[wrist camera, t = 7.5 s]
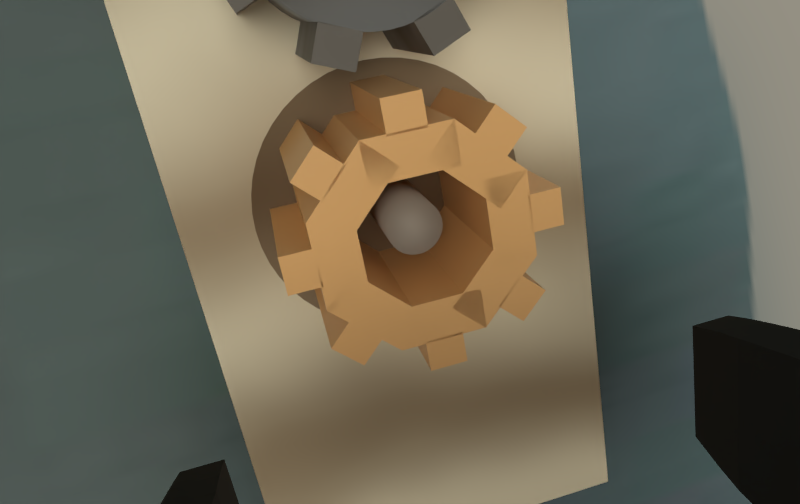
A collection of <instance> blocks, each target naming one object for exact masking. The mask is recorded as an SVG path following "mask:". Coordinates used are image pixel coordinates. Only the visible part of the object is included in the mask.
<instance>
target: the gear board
mask: <svg viewBox="0 0 800 504" xmlns="http://www.w3.org/2000/svg"><path fill="white" fill-rule="evenodd" d="M104 3H105V6H106V9H107V12H108V15H109V18H110V22H111V25H112V28H113V31H114V34H115V37H116V40H117V43H118V46H119V50H120V53H121V56H122V59H123V62H124V65H125V68H126V71H127V75H128V78H129V81H130V84H131V87H132V90H133V93H134V96H135V100H136V103H137V106H138V109H139V112H140V115H141V118H142V121H143V124H144V128H145V131H146V134H147V137H148V140H149V143H150V146H151V149H152V153H153V156H154V159H155V162H156V165H157V168H158V171H159V174H160V178H161V181H162V184H163V187H164V190H165V193H166V196H167V199H168V202H169V206H170V209H171V212H172V215H173V218H174V221H175V224H176V227H177V231H178V234H179V237H180V240H181V243H182V246H183V249H184V252H185V256H186V259H187V262H188V265H189V268H190V271H191V274H192V277H193V280H194V284H195V287H196V290H197V293H198V296H199V299H200V302H201V305H202V309H203V312H204V315H205V318H206V321H207V324H208V327H209V330H210V334H211V337H212V340H213V343H214V346H215V349H216V352H217V355H218V358H219V362H220V365H221V368H222V371H223V374H224V377H225V380H226V383H227V387H228V390H229V393H230V396H231V399H232V402H233V405H234V408H235V412H236V415H237V418H238V421H239V424H240V427H241V430H242V433H243V436H244V440H245V443H246V446H247V449H248V452H249V455H250V458H251V461H252V465H253V468H254V471H255V474H256V477H257V480H258V483H259V486H260V490H261V493H262V496H263V499H264V502H265V504H540V503H543V502H546V501H549V500H552V499H555V498H558V497H561V496H564V495H568V494H571V493H574V492H577V491H580V490H583V489H586V488H589V487H592V486H596V485H599V484H602V483H605V482H608V475H607V463H606V452H605V440H604V429H603V417H602V406H601V394H600V383H599V371H598V359H597V348H596V336H595V325H594V313H593V302H592V290H591V279H590V267H589V256H588V244H587V233H586V221H585V210H584V198H583V187H582V175H581V164H580V152H579V140H578V129H577V117H576V106H575V94H574V83H573V71H572V60H571V48H570V37H569V25H568V14H567V2H566V0H104ZM380 75H386V76H388V77H391V78H394V79H396V80H399V81H402V82H404V83H407V84H410V85H412V86H415V87H418V88H420V89H422V92H423V98H424V104H425V105H426V106H428V107H430V106H431V104H432V103H433V101H434V100H435V98H436V97H437V95H438V94H439V92H440V90H441V89H442V87H445V88H448V89H451V90H454V91H457V92H460V93H463V94H466V95H469V96H473V97H476V98H479V99H482V100H485V101H488V102H491V103H494V104H496V105H498V106H499V107H500V108H502V109H503V110H504V111H506V112H507V113H508V114H510V115H511V116H513V117H514V118H515V119H517V120H518V121H519V122H521V123H522V124H523V125H525V126H526V127H527V128H526V130H525V131H524V132H523V134H522V135H521V137H520V138H519V140H518V141H517V143H516V144H515V146H514V147H513V149H512V150H511V152H510V153H509V154H508V157H510V158H511V159H513V160H514V161H515V162H517V163H518V164H520V165H521V166H522V167H524V168H525V169H527V170H528V171H530V172H532V173H534V174H536V175H538V176H540V177H542V178H544V179H546V180H548V181H550V182H552V183H554V184H556V185H557V186H559V187H561V197H562V207H563V217H564V225H561V226H557V227H553V228H549V229H545V230H541V231H538V232H534V233H535V242H536V250H537V256H536V258H535V259H534V261H533V262H532V263H531V265H530V266H529V268H528V269H527V271H526V272H525V273H527V274H528V275H529V276H530V277H531V278H532V279H533V280H535V281H536V282H537V283H538V284H539V285H540V286H541V287H542V288H544V289H545V290H546V291H545V292H544V293H543V295H542V296H541V298H540V299H539V300H538V302H537V303H536V305H535V306H534V307H533V309H532V310H531V312H530V313H529V314H528V316H527V317H526V319H525V320H524V321H522V320H521V319H519V318H517V317H516V316H514V315H512V314H511V313H509V312H507V311H505V310H504V309H502V308H500V309H499V310H498V311H497V313H496V314H495V316H494V317H493V319H492V320H491V321H490V323H489V324H488V326H487V327H486V328H482V329H478V330H475V331H471V332H468V333H464V334H463V337H464V343H465V349H466V354H467V360H468V361H465V362H461V363H458V364H454V365H451V366H447V367H444V368H440V369H437V370H433V371H431V369H430V368H429V366H428V364H427V362H426V360H425V359H424V357H423V355H422V353H421V351H420V349H419V348H418V346H417V347H413V348H410V349H406V350H403V351H402V350H400V349H398V348H396V347H395V346H393V345H391V344H389V343H387V342H385V341H383V340H382V341H381V342H380V343H379V345H378V346H377V348H376V349H375V351H374V352H373V354H372V355H371V357H370V358H369V360H368V361H367V363H366V364H365V365H362V364H360V363H358V362H356V361H354V360H352V359H350V358H349V357H347V356H345V355H343V354H341V353H339V352H337V351H335V350H333V349H331V346H330V342H329V339H328V335H327V332H326V328H325V325H324V321H323V318H322V314H321V310H320V307H319V303H318V300H317V296H316V293H315V289H313V290H309V291H305V292H302V293H298V294H294V295H290V296H288V294H287V291H286V287H285V283H284V279H283V276H282V272H281V268H280V264H279V261H278V257H277V250H276V244H275V238H274V232H273V226H272V220H271V214H270V209H272V208H277V207H281V206H285V205H289V204H293V203H297V201H296V197H295V193H294V189H293V185H292V184H291V183H290V182H289V179H288V175H287V172H286V169H285V166H284V163H283V159H282V156H281V153H280V150H279V148H280V146H281V145H282V143H283V142H284V140H285V138H286V137H287V135H288V134H289V132H290V130H291V129H292V127H293V125H294V124H295V122H296V121H297V119H299V120H300V121H302V122H303V123H305V124H307V125H308V126H310V127H311V128H313V129H314V130H316V131H318V132H319V133H321V134H322V133H323V132H324V130H325V129H326V127H327V125H328V124H329V122H330V121H331V119H332V117H333V115H338V114H342V113H347V112H351V111H355V106H354V101H353V96H352V91H351V86H350V82H352V81H357V80H362V79H366V78H371V77H376V76H380ZM443 206H444V201H443V195H442V189H441V183H440V177H439V171H437V172H432V173H428V174H424V175H420V176H416V177H411V178H407V179H403V180H399V181H395V182H391V183H388V184H387V185H386V187H385V188H384V190H383V191H382V193H381V195H380V196H379V198H378V199H377V201H376V202H375V204H374V205H373V207H372V208H371V210H370V211H369V213H368V214H367V216H366V217H365V219H364V220H363V222H362V224H361V225H360V227H359V228H358V230H357V234H358V239H359V240H360V241H361V242H363V243H365V244H367V245H368V246H370V247H372V248H373V249H375V250H377V251H383V250H387V249H391V248H396V249H397V250H398V251H400V252H402V253H405V254H409V255H417V254H421V253H424V252H426V251H428V250H429V249H431V248H432V247H433V246H434V245H435V244H436V243H437V241H438V240H439V238H440V236H441V233H442V228H443V223H442V217H441V215H440V213H439V212H440V211H441V209H442V208H443Z"/></svg>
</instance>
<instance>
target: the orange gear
mask: <svg viewBox="0 0 800 504" xmlns="http://www.w3.org/2000/svg"><path fill="white" fill-rule="evenodd" d="M350 86H351V91H352V96H353V101H354V106H355V111H351V112H347V113H342V114H338V115H333V117H332V119H331V121H330V122H329V124H328V125H327V127H326V129H325V130H324V132H323V133H322V134H321V133H319V132H318V131H316V130H314V129H313V128H311V127H310V126H308V125H307V124H305V123H303V122H302V121H300V120H299V119H297V121H296V122H295V124H294V125H293V127H292V129H291V130H290V132H289V134H288V135H287V137H286V138H285V140H284V142H283V143H282V145H281V146H280V148H279V150H280V153H281V156H282V159H283V163H284V166H285V169H286V172H287V175H288V179H289V182H290V183H291V184H292V185H293V189H294V193H295V197H296V201H297V203H293V204H289V205H285V206H281V207H277V208H272V209H270V214H271V220H272V226H273V232H274V238H275V244H276V250H277V257H278V261H279V264H280V268H281V272H282V276H283V279H284V283H285V287H286V291H287V294H288V296H290V295H294V294H298V293H302V292H305V291H309V290H313V289H315V293H316V296H317V300H318V303H319V307H320V310H321V314H322V318H323V321H324V325H325V328H326V332H327V335H328V339H329V342H330V346H331V349H333V350H335V351H337V352H339V353H341V354H343V355H345V356H347V357H349V358H350V359H352V360H354V361H356V362H358V363H360V364H362V365H365V364H366V363H367V361H368V360H369V358H370V357H371V355H372V354H373V352H374V351H375V349H376V348H377V346H378V345H379V343H380V342H381V341H382V340H383V341H385V342H387V343H389V344H391V345H393V346H395V347H396V348H398V349H400V350H402V351H403V350H406V349H410V348H413V347H417V346H418V348H419V349H420V351H421V353H422V355H423V357H424V359H425V360H426V362H427V364H428V366H429V368H430V369H431V371H433V370H437V369H440V368H444V367H447V366H451V365H454V364H458V363H461V362H465V361H468V360H467V354H466V349H465V343H464V337H463V334H464V333H468V332H471V331H475V330H478V329H482V328H486V327H487V326H488V324H489V323H490V321H491V320H492V319H493V317H494V316H495V314H496V313H497V311H498V310H499V309H500V308H502V309H504V310H505V311H507V312H509V313H511V314H512V315H514V316H516V317H517V318H519V319H521V320H522V321H524V320H525V319H526V317H527V316H528V314H529V313H530V312H531V310H532V309H533V307H534V306H535V305H536V303H537V302H538V300H539V299H540V298H541V296H542V295H543V293H544V292H545V291H546V290H545V289H544V288H542V287H541V286H540V285H539V284H538V283H537V282H536V281H535V280H533V279H532V278H531V277H530V276H529V275H528V274H527V273H525V272H526V271H527V269H528V268H529V266H530V265H531V263H532V262H533V261H534V259H535V258H536V256H537V250H536V242H535V233H534V232H538V231H541V230H545V229H549V228H553V227H557V226H561V225H564V217H563V207H562V197H561V187H559V186H557V185H556V184H554V183H552V182H550V181H548V180H546V179H544V178H542V177H540V176H538V175H536V174H534V173H532V172H530V171H528V170H527V169H525V168H524V167H522V166H521V165H520V164H518V163H517V162H515V161H514V160H513V159H511V158H510V157H508V154H509V153H510V152H511V150H512V149H513V147H514V146H515V144H516V143H517V141H518V140H519V138H520V137H521V135H522V134H523V132H524V131H525V130H526V128H527V127H526V126H525V125H523V124H522V123H521V122H519V121H518V120H517V119H515V118H514V117H513V116H511V115H510V114H508V113H507V112H506V111H504V110H503V109H502V108H500V107H499V106H498V105H496V104H494V103H491V102H488V101H485V100H482V99H479V98H476V97H473V96H469V95H466V94H463V93H460V92H457V91H454V90H451V89H448V88H445V87H442V89H441V90H440V92H439V94H438V95H437V97H436V98H435V100H434V101H433V103H432V104H431V106H430V107H428V106H426V105H425V104H424V98H423V92H422V89H420V88H418V87H415V86H412V85H410V84H407V83H404V82H402V81H399V80H396V79H394V78H391V77H388V76H386V75H380V76H376V77H371V78H366V79H362V80H357V81H352V82H350ZM437 171H439V177H440V183H441V189H442V195H443V201H444V206H443V208H442V209H441V211H440V212H439V213H440V215H441V217H442V223H443V228H442V233H441V236H440V238H439V240H438V241H437V243H436V244H435V245H434V246H433V247H432V248H431V249H429V250H428V251H426V252H424V253H421V254H417V255H409V254H405V253H402V252H400V251H398V250H397V249H396V248H391V249H387V250H383V251H377V250H375V249H373V248H372V247H370V246H368V245H367V244H365V243H363V242H361V241H360V240H359V239H358V234H357V230H358V228H359V227H360V225H361V224H362V222H363V220H364V219H365V217H366V216H367V214H368V213H369V211H370V210H371V208H372V207H373V205H374V204H375V202H376V201H377V199H378V198H379V196H380V195H381V193H382V191H383V190H384V188H385V187H386V185H387V184H388V183H391V182H395V181H399V180H403V179H407V178H411V177H416V176H420V175H424V174H428V173H432V172H437Z"/></svg>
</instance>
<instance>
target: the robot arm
mask: <svg viewBox="0 0 800 504" xmlns="http://www.w3.org/2000/svg"><path fill="white" fill-rule="evenodd" d="M693 354H694V391H695V428H696V437H697V439H698V440H699V441H700V443H701V444H702V445H703V446H704V448H705V449H706V450H707V452H708V453H709V454H710V455H711V457H712V458H713V459H714V461H715V462H716V463H717V464H718V466H719V467H720V468H721V469H722V471H723V472H724V473H725V474H726V475H727V477H728V478H729V479H730V480H731V481H732V483H733V484H734V485H735V486H736V487H737V488H738V490H739V491H740V492H741V493H742V494H743V495H744V496H745V497H746V498H747V499H748V500H749V501H750V502H751V503H752V504H800V330H797V329H793V328H789V327H785V326H780V325H776V324H771V323H767V322H762V321H757V320H752V319H747V318H740V317H734V316H725V317H722V318H718V319H715V320H711V321H708V322H704V323H701V324H697V325H694V326H693ZM161 504H239V503H238V500H237V497H236V494H235V491H234V488H233V484H232V481H231V478H230V475H229V472H228V469H227V466H226V463H225V460H221V461H217V462H214V463H210V464H207V465H203V466H200V467H196V468H193V469H189V470H186V471H182V472H180V473H179V474H178V476H177V478H176V479H175V481H174V482H173V484H172V486H171V487H170V489H169V491H168V492H167V494H166V496H165V497H164V499H163V501H162V503H161Z"/></svg>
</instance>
